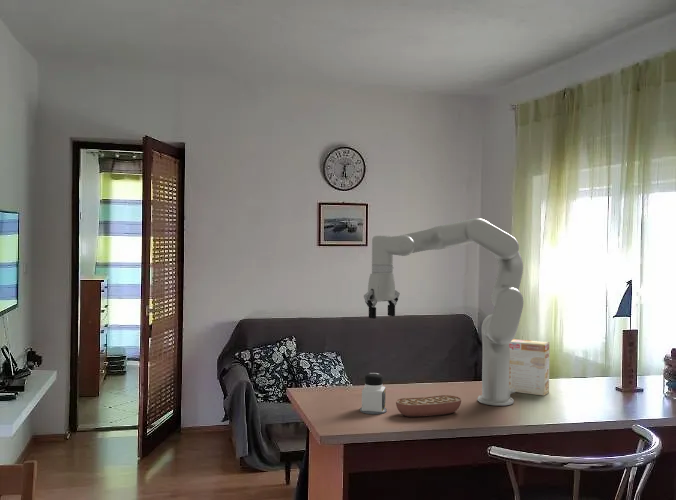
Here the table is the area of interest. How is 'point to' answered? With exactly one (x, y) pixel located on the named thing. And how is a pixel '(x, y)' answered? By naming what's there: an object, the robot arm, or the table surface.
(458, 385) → the table surface
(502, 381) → the robot arm
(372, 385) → the medicine bottle
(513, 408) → the table surface
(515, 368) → the coffeecake box
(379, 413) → the coaster
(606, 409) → the table surface
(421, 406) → the oval dish
